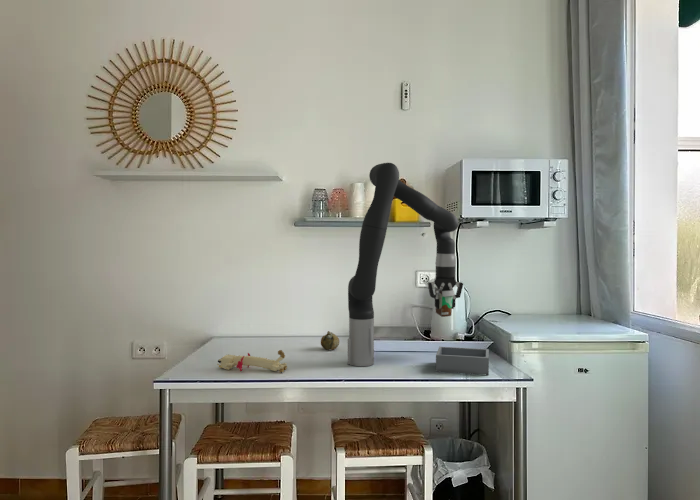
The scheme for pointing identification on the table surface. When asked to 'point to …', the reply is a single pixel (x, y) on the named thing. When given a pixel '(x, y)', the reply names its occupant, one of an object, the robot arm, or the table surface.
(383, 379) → the table surface
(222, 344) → the table surface
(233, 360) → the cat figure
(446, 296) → the food container
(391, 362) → the table surface
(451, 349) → the grey bin
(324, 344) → the onion
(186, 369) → the table surface
